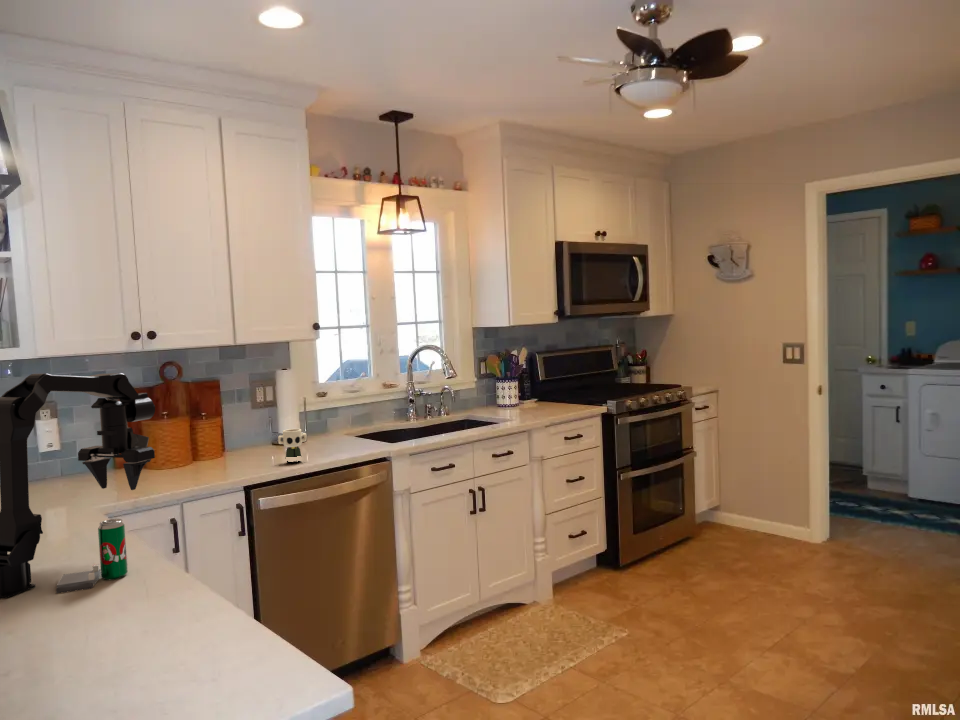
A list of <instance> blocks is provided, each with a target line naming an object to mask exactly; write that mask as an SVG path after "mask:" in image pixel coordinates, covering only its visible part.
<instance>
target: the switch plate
mask: <svg viewBox="0 0 960 720" xmlns="http://www.w3.org/2000/svg"><path fill="white" fill-rule="evenodd" d="M100 576H101V568H100V564H93V566H92V570H85V571H79V572H72V573H66V574H65V573H64V574H63V575H62V576H61V578H60V579H59V581H58V582H57V584H56V588H58V587H65V586H72V585H78V584H85V583H93V586H94V585H96V584H97V582H98V581H99V577H100Z"/></svg>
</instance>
